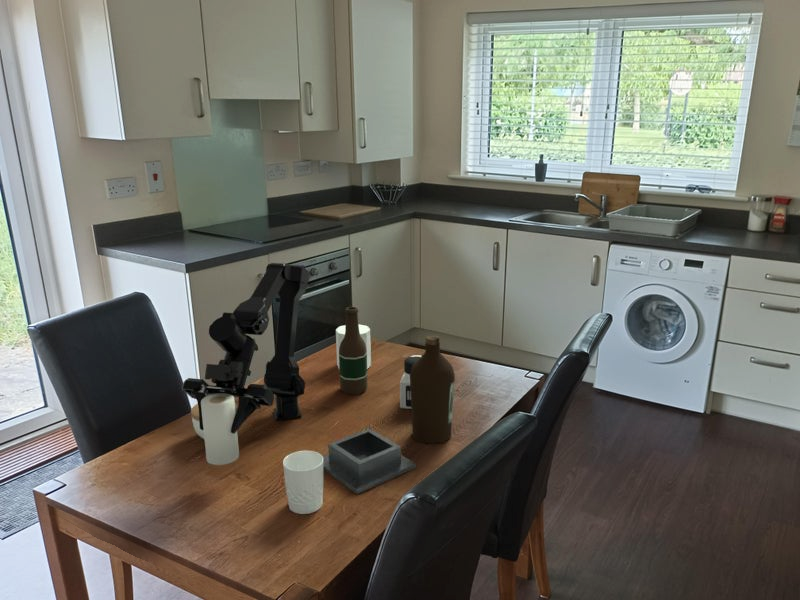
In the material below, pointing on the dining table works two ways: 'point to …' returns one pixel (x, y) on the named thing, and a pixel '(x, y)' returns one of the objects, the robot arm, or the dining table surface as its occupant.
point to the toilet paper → (363, 333)
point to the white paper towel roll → (219, 428)
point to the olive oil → (432, 395)
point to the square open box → (365, 460)
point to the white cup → (304, 481)
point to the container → (407, 382)
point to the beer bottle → (352, 356)
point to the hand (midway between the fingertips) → (216, 431)
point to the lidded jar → (196, 420)
